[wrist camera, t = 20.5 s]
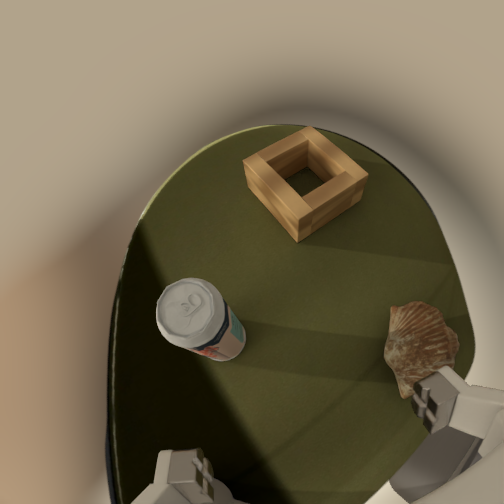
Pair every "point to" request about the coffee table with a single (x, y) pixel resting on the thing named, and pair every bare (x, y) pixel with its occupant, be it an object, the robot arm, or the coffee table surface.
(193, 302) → the beer can
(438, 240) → the coffee table surface
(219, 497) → the cup
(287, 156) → the holder
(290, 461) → the coffee table surface
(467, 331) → the coffee table surface
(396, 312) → the seashell
